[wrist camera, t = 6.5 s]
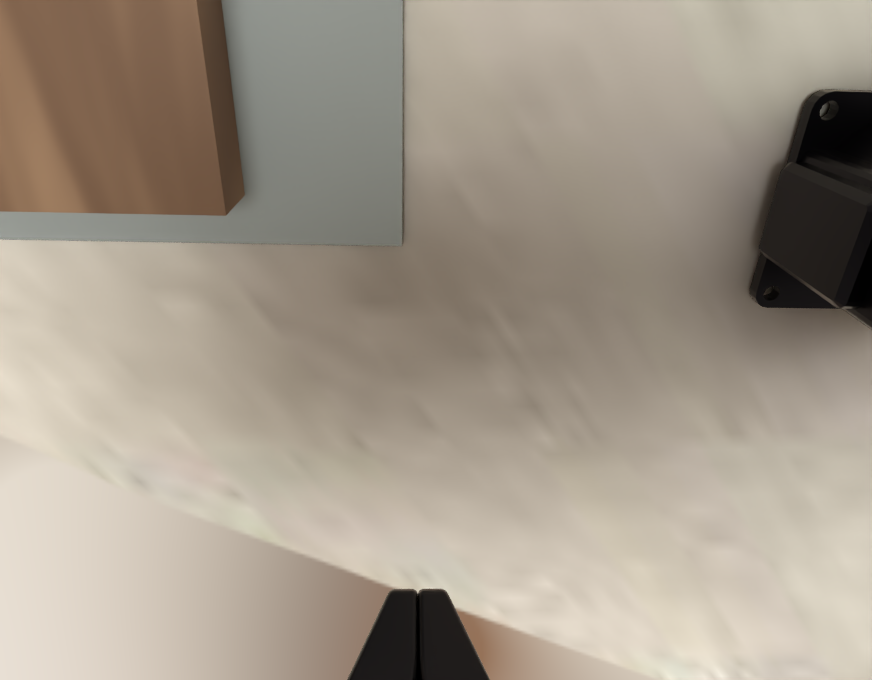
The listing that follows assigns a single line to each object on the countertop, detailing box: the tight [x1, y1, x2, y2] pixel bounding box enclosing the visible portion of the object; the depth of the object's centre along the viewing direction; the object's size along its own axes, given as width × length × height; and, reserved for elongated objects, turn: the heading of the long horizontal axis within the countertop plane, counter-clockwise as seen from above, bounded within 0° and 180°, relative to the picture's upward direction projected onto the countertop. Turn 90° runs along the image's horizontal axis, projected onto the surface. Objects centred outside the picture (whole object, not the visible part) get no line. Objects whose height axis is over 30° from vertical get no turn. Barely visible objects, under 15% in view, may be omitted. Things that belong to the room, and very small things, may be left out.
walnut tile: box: [0, 0, 245, 216], centre depth 15 cm, size 2×6×8 cm
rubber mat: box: [0, 0, 403, 246], centre depth 16 cm, size 15×9×1 cm, turn 88°
